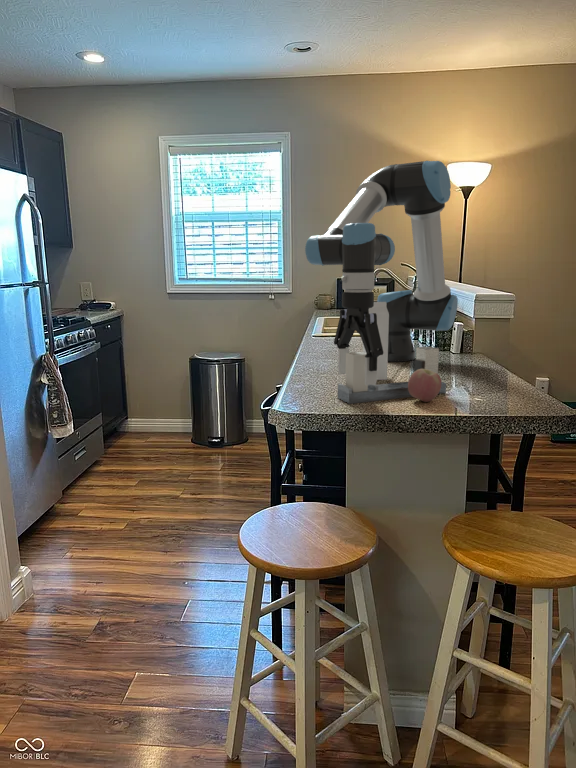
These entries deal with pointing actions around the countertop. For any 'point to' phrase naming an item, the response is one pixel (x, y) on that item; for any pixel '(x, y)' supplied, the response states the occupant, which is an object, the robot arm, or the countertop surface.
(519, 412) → the countertop surface
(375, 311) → the milk
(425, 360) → the rail
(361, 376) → the short white pillar
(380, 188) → the robot arm
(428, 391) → the apple
